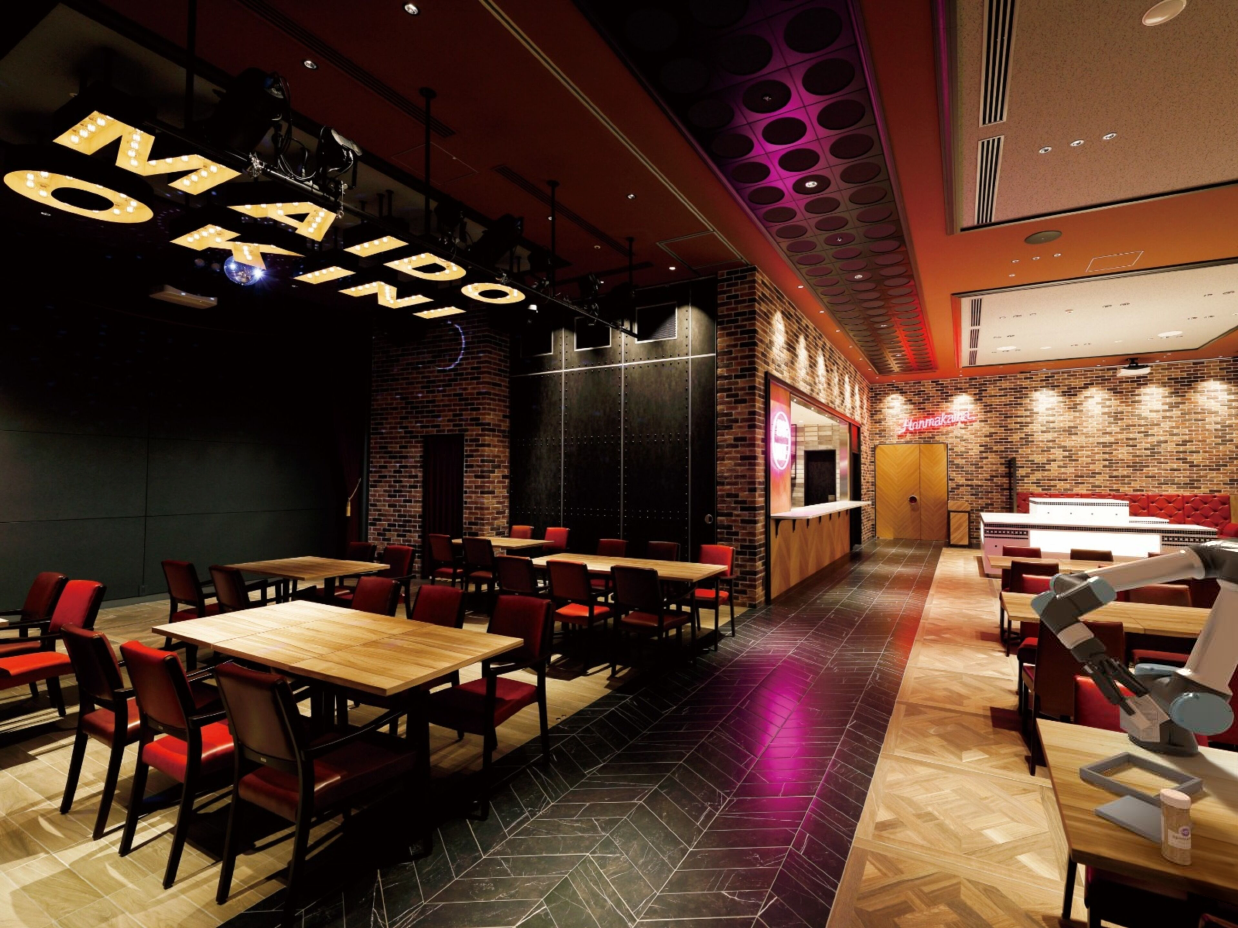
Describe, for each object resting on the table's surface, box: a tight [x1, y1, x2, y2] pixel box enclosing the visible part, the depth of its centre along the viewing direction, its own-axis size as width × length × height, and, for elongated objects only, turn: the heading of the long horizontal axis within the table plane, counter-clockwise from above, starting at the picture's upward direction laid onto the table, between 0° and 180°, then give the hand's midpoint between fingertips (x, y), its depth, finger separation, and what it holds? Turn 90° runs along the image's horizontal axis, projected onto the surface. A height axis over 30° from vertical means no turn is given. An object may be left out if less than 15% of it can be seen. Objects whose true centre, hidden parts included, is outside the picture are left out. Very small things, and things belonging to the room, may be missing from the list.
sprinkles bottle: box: [1159, 788, 1192, 866], centre depth 119 cm, size 5×5×14 cm
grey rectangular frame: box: [1078, 751, 1204, 809], centre depth 148 cm, size 22×16×2 cm
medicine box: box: [1119, 695, 1160, 742], centre depth 148 cm, size 8×4×9 cm, turn 169°
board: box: [1094, 795, 1194, 844], centre depth 132 cm, size 14×12×1 cm
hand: (1155, 724), depth 145 cm, fingers closed on medicine box, 8 cm apart
